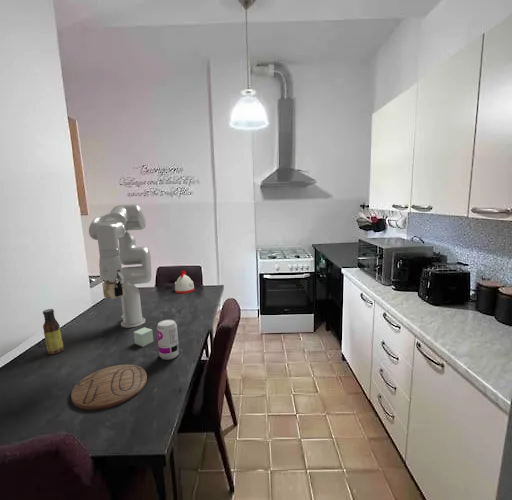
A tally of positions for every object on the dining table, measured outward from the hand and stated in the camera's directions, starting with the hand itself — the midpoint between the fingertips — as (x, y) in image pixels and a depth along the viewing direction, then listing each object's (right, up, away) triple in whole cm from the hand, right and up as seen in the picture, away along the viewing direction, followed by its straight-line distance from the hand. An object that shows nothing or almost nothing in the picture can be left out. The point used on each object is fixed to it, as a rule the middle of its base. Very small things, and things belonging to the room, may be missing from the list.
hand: (114, 294), depth 133 cm
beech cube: (0, -1, 0) cm, 1 cm away
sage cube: (+8, -25, +15) cm, 30 cm away
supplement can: (+23, -27, +1) cm, 36 cm away
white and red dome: (+8, -11, +95) cm, 96 cm away
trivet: (+8, -32, -19) cm, 38 cm away
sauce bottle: (-31, -28, +9) cm, 42 cm away
